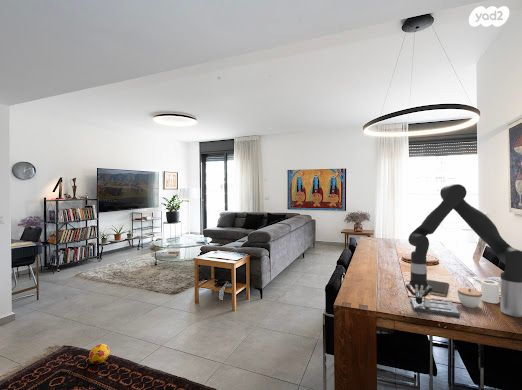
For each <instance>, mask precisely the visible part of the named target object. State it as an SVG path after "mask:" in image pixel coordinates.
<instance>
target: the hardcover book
mask: <svg viewBox="0 0 522 390" xmlns="http://www.w3.org/2000/svg"><path fill="white" fill-rule="evenodd" d="M427 283H428V286H430V287H432V289H433V290H432V291H431V292H430V293H429V294H431V295H436V296H441V297H446V298H447V296H448V293H449V287H450V283H449V282H445V281H438V280H433V279H431V280H430V279H427ZM426 290H427V287H426V288H425V289H424V290H423V292H425V291H426ZM418 292H419V290H418Z"/></svg>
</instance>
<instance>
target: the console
mask: <svg viewBox="0 0 522 390" xmlns="http://www.w3.org/2000/svg"><path fill="white" fill-rule="evenodd" d="M410 303H411V306H412V309H413V311H414V312H418V313H419V312H420V313H425V314H426V313H427V314H434V315H442V316H450V317H456V318H457V317H458V318H460V315H461V313H460V311H459V310H458V309H457V306H456V305H455V304H454V302H452V301H446V300H445V301H444V300H443V301H442V300H436V299H431V307H425V305H424V298H422V303H421V304H417V303H416V297H410Z"/></svg>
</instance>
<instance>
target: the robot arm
mask: <svg viewBox="0 0 522 390" xmlns="http://www.w3.org/2000/svg"><path fill="white" fill-rule="evenodd" d="M439 193H440V197H441V199H442V201H441V202H440V203H439V204H438V206H436V208H434V209H433V210H432V211H431V212H430V213H429V214H428V215H427V216H426V217H425V218H424V220H423V221H422V222H421V224H420V225H419V226H418V227H416V228H415V229H414V230H413V231H412V232H411V233H410V234H409V236H408V240H407V241H408V243H409V245H411V246H413V247H415V248H414V251H411V252H410V280H409V283H407V284H405V288H406V289H407V290H408V291H409V292H410V294H411V295H412V296H414V297H415V298H416V303H417V304H421V303H422V299H423V298H424V297H426V296H427V295H428V294H430V292H431V291H432V290H433V289H432V287H430V286H428V283H427V280H428V278H427V276H428V270H427V254H428V252H429V247H430V240H429V238H428V236H429V235H432V234H434V233H435V232H436V230H437V229H438V227H440V226H441V224H442V222H443V221H444V220H445V218H447V216H448V215H449V214H450V213H451V212H452V211H453V210H454V211H455V212H456V213H457V214H458V215H459V216H460V218H462V220H463V221H464V222H465V223H466V224H467V225H468V226H469V228H470V229H471V230H472V231H473V232H474V233H475V234H476V235H477V236H478V237H479V238H480V239H481V240H482V241H483V242H484V243H485V244H487V246H488V247H489V248H490V249H491V250H492V252H493V254H494V255H495V256H496V258H497V259H498V260H499V261H500V262H501V263H502V264H504V271H502V272H500V312H501V313H503V314H505V315H508V316H510V317H516V318H522V250H520V249H517V248H514V247H512V246H511V245H510V244H509V243H508V242H507V241H505V239H504V238H503V237H502V236H501V235H500V232H499V230H498V228H497V226H496V224H495V223H494V222H493V221H492V220H491V219H490V217H488V216H487V214H485V213H483V212H482V211H480V210H479V209H477V208H476V207H474V206H472V205H471V204H470V203H468V202H467V201H466V200H465V198H466V197H467V196H466V195H467V193H468V192H467V189H466V187H465V186H464V185H463V184H460V183H455V184H449V185H446V186H443V187H442V188H441V189H440V191H439ZM426 287H427V290H426V291H425V292H424V293H423V290H424V289H425V288H426ZM412 289H413V290H412ZM418 290H419V291H418Z"/></svg>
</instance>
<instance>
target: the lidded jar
mask: <svg viewBox="0 0 522 390" xmlns="http://www.w3.org/2000/svg"><path fill="white" fill-rule="evenodd" d="M457 297H458V300H459V302H460V303H461V304H462V305H463V306H464V307H467V308H471V309H472V308H473V309H475V308H477V307H479V306H480V305H481V303H482V301H483V293H482V292H481V291H479V290H477V289H473V288H469V287H468V288H467V287H466V288H465V287H460V288H458V289H457Z"/></svg>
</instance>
